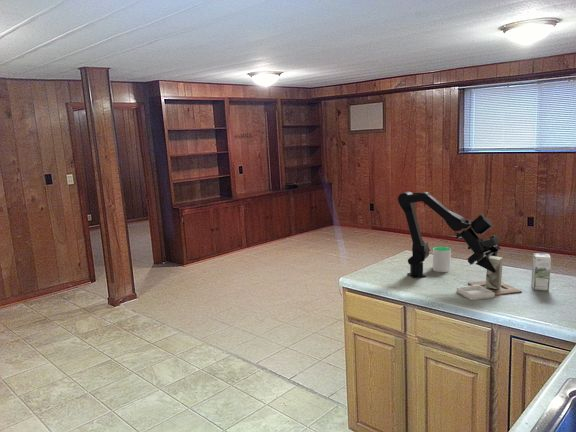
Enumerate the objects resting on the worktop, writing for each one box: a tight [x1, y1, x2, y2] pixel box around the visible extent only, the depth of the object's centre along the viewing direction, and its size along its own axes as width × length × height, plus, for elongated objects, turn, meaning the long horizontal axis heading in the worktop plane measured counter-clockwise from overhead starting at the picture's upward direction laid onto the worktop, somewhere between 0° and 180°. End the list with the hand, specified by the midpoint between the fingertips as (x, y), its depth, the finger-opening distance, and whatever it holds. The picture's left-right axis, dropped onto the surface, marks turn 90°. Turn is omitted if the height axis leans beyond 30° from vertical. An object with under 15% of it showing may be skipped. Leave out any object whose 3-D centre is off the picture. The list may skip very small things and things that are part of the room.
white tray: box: [456, 285, 495, 301], centre depth 186 cm, size 10×10×2 cm
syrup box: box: [530, 252, 552, 292], centre depth 190 cm, size 6×6×14 cm
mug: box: [432, 246, 452, 273], centre depth 224 cm, size 12×8×10 cm, turn 177°
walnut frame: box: [467, 280, 523, 297], centre depth 194 cm, size 16×14×1 cm
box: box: [485, 256, 504, 290], centre depth 192 cm, size 5×4×13 cm
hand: (497, 271), depth 191 cm, fingers closed on box, 4 cm apart
